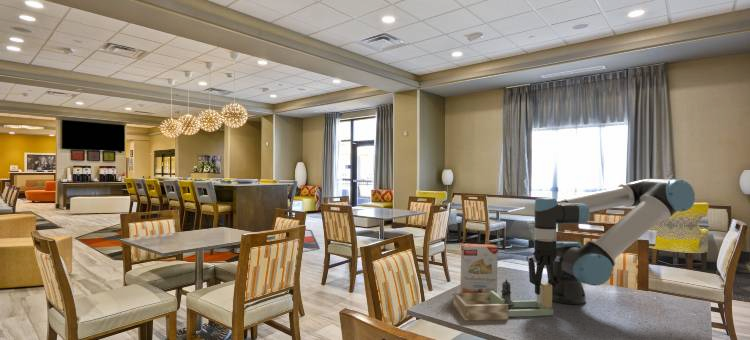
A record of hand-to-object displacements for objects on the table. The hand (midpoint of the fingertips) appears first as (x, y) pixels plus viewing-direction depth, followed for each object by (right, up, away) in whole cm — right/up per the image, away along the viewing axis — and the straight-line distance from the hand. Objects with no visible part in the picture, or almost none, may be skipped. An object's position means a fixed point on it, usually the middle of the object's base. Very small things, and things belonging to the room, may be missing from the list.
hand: (544, 302), depth 145 cm
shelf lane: (-25, -3, -3) cm, 25 cm away
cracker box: (-20, -3, +17) cm, 26 cm away
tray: (-9, -3, -1) cm, 9 cm away
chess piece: (-15, -3, -1) cm, 15 cm away
